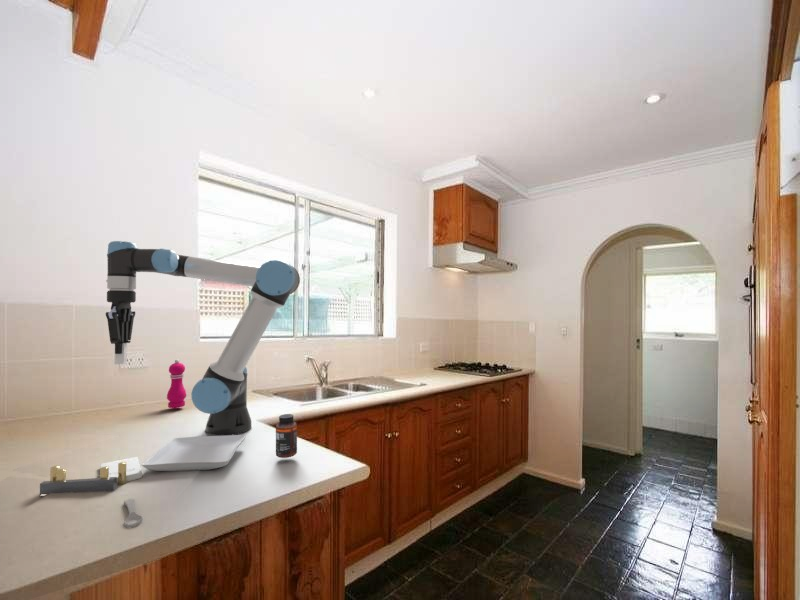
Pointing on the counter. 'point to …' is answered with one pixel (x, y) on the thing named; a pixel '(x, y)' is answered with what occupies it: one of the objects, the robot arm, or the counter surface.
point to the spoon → (131, 514)
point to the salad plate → (194, 453)
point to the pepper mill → (176, 386)
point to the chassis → (82, 481)
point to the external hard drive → (131, 468)
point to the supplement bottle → (286, 436)
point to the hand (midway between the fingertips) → (120, 363)
